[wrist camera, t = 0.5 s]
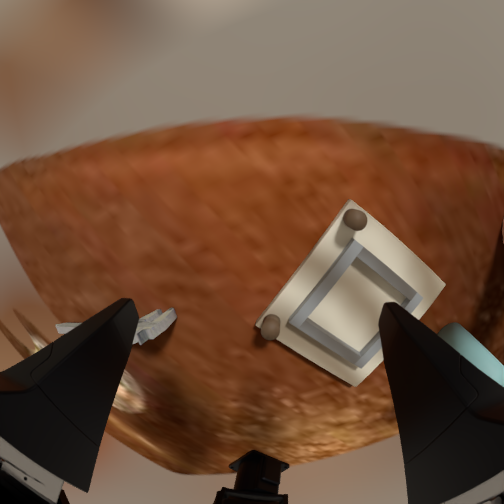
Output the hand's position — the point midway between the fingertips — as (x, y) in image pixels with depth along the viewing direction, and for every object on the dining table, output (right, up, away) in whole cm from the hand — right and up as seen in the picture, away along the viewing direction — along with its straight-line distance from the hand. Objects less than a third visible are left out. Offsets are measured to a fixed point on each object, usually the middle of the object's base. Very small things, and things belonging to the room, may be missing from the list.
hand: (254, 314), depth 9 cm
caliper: (-17, -6, +20) cm, 27 cm away
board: (+10, -3, +15) cm, 18 cm away
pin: (+22, -8, +15) cm, 28 cm away
